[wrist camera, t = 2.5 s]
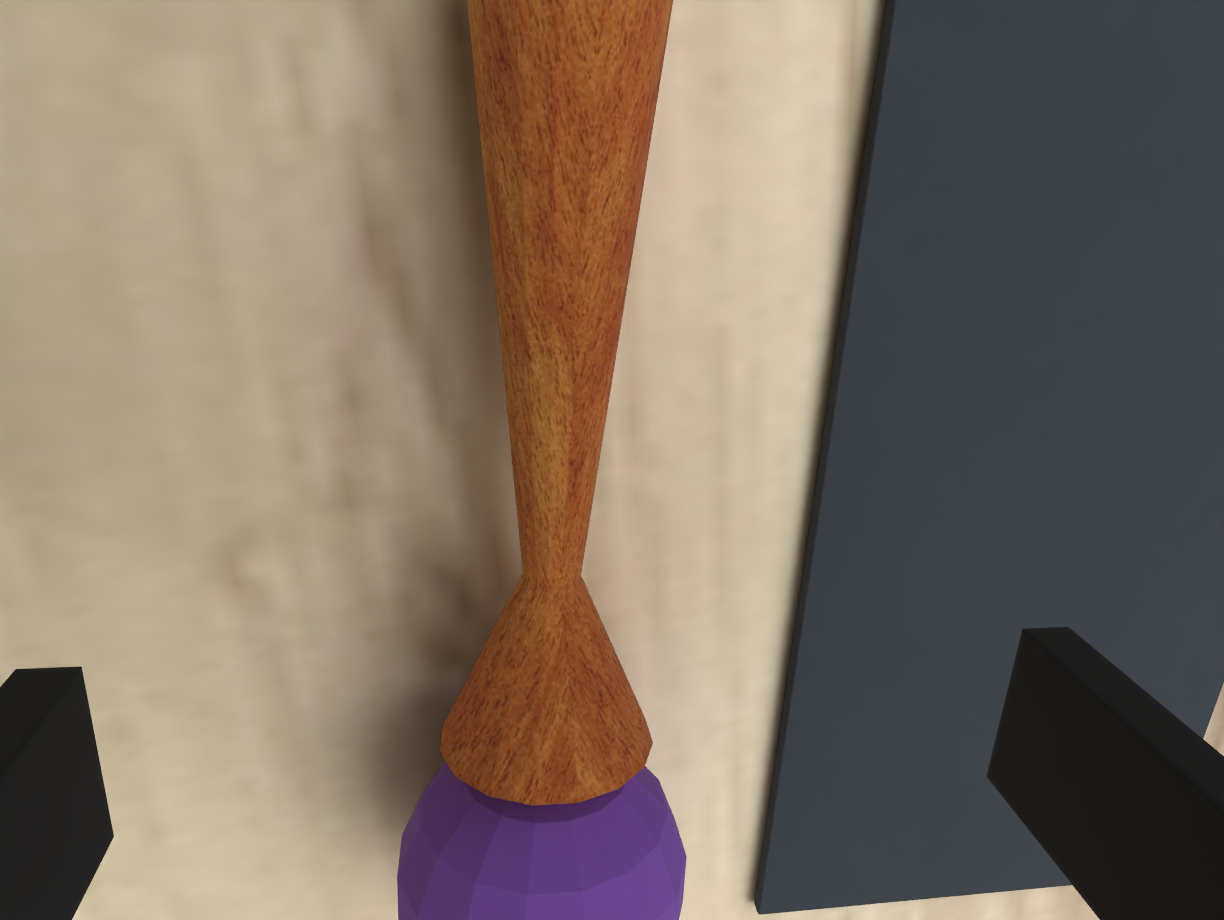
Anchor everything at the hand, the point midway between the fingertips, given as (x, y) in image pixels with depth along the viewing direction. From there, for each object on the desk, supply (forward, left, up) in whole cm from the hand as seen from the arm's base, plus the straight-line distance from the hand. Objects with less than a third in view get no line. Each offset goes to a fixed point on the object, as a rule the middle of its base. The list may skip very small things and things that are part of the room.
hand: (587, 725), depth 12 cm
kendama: (0, 0, -7) cm, 7 cm away
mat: (0, +12, -7) cm, 14 cm away
